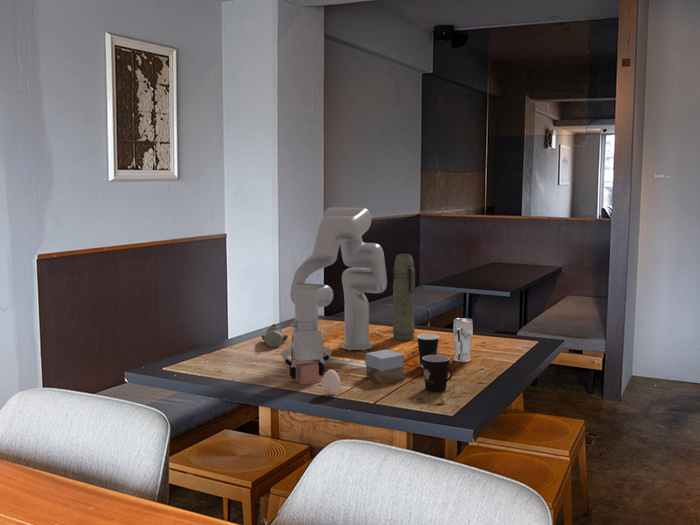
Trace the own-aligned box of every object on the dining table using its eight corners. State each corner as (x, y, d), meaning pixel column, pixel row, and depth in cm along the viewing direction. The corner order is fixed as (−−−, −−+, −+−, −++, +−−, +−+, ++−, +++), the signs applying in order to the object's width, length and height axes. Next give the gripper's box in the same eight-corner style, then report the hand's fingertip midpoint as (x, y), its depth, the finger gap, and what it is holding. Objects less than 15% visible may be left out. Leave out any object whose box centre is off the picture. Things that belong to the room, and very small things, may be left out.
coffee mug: (419, 385, 229) (420, 355, 228) (446, 384, 230) (446, 354, 229) (426, 396, 218) (427, 364, 217) (454, 395, 219) (454, 364, 217)
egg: (341, 396, 218) (341, 371, 217) (324, 398, 217) (323, 372, 216) (338, 391, 223) (338, 366, 223) (320, 392, 222) (320, 367, 221)
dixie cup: (415, 363, 256) (415, 333, 255) (437, 363, 256) (438, 333, 255) (417, 369, 248) (417, 338, 247) (440, 369, 248) (440, 338, 247)
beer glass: (471, 363, 257) (472, 322, 255) (452, 362, 258) (452, 321, 256) (472, 358, 264) (473, 318, 262) (453, 357, 265) (454, 317, 263)
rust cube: (295, 379, 237) (295, 362, 236) (312, 377, 239) (312, 360, 238) (301, 384, 231) (301, 366, 230) (318, 382, 233) (318, 364, 233)
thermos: (399, 334, 303) (400, 252, 299) (421, 338, 295) (422, 254, 291) (385, 337, 297) (386, 254, 293) (407, 342, 289) (407, 256, 285)
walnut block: (366, 377, 240) (366, 364, 239) (388, 373, 244) (388, 360, 244) (381, 384, 232) (381, 370, 231) (403, 380, 237) (403, 366, 236)
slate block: (365, 365, 239) (365, 353, 238) (386, 361, 244) (386, 349, 243) (381, 370, 231) (381, 358, 231) (403, 366, 236) (403, 354, 236)
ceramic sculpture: (259, 327, 277) (262, 321, 292) (259, 349, 278) (262, 342, 293) (286, 326, 278) (288, 321, 293) (286, 349, 278) (288, 342, 293)
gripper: (284, 329, 226) (285, 382, 228) (335, 325, 233) (335, 376, 235) (277, 325, 233) (278, 376, 235) (327, 321, 240) (327, 371, 242)
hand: (307, 376), depth 235 cm, fingers open, 9 cm apart
